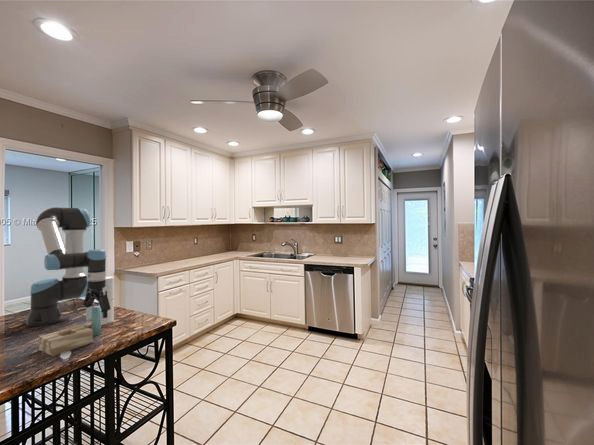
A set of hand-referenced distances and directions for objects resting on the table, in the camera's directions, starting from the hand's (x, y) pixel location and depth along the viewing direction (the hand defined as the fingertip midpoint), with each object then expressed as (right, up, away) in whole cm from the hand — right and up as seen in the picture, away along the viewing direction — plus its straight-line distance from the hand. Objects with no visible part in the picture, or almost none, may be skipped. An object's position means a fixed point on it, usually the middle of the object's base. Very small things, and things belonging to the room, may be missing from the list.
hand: (96, 321), depth 148 cm
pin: (0, -7, 0) cm, 7 cm away
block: (-4, -7, -13) cm, 16 cm away
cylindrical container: (-7, -6, +19) cm, 21 cm away
